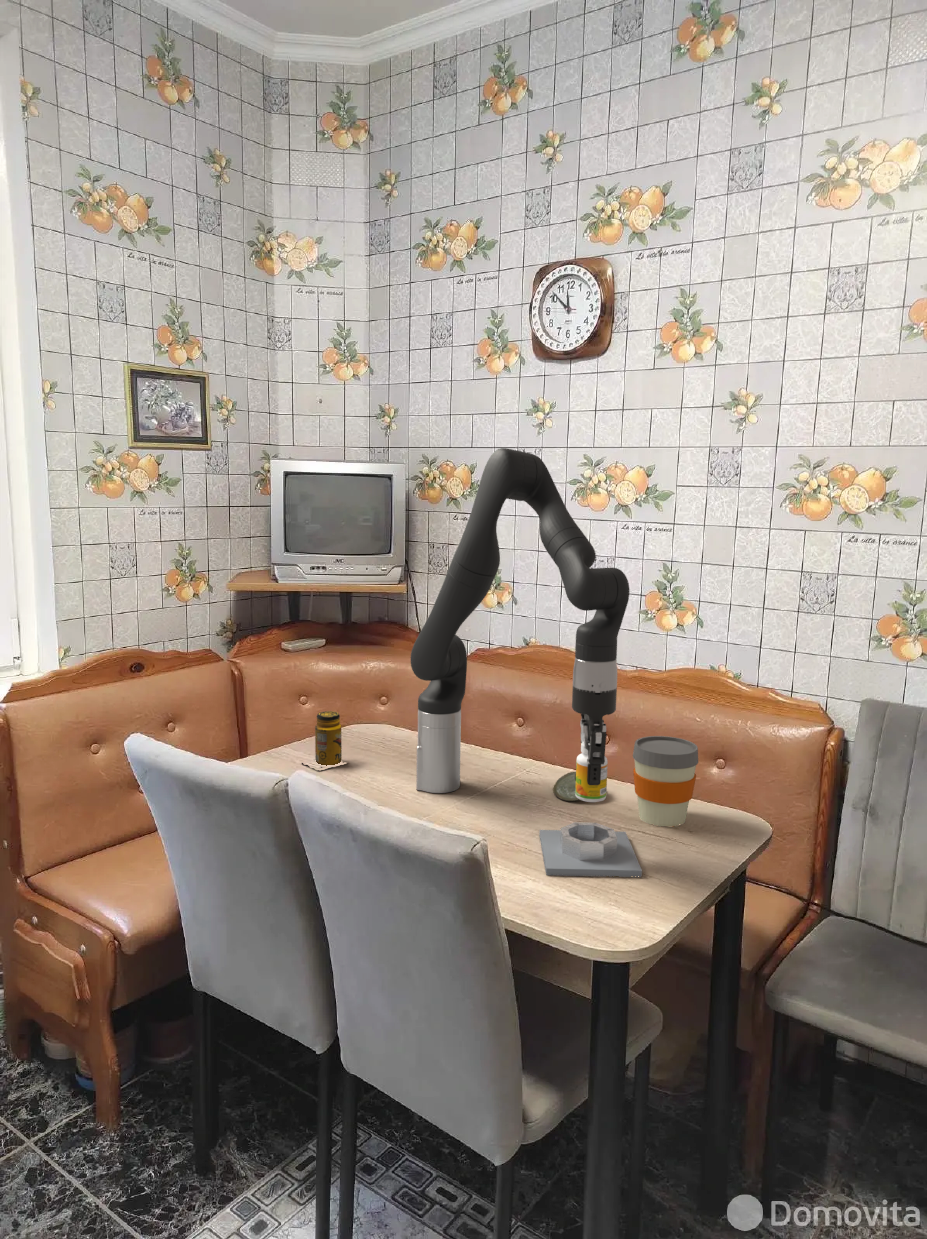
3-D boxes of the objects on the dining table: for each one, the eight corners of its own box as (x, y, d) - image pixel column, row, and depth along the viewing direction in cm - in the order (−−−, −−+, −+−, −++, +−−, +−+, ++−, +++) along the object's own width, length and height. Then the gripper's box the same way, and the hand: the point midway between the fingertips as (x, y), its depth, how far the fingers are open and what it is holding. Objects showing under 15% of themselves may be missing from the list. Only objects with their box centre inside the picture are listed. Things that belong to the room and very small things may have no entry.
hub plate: (546, 875, 141) (546, 868, 141) (539, 835, 157) (539, 829, 157) (641, 877, 141) (642, 870, 141) (625, 837, 157) (625, 831, 156)
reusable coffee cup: (617, 811, 170) (620, 739, 167) (668, 802, 175) (672, 732, 172) (654, 834, 158) (658, 758, 156) (708, 825, 163) (713, 750, 161)
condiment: (349, 764, 195) (349, 714, 194) (318, 772, 190) (318, 720, 188) (331, 756, 201) (330, 707, 199) (300, 764, 195) (300, 714, 193)
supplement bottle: (572, 791, 150) (574, 739, 148) (601, 791, 150) (603, 738, 149) (578, 803, 144) (580, 748, 143) (609, 802, 145) (611, 748, 143)
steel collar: (563, 860, 144) (564, 843, 144) (558, 837, 153) (559, 821, 153) (619, 861, 144) (620, 844, 143) (610, 838, 153) (611, 822, 153)
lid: (611, 797, 177) (612, 774, 177) (579, 808, 171) (580, 784, 170) (573, 783, 185) (574, 761, 184) (542, 793, 179) (543, 770, 178)
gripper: (568, 674, 151) (565, 764, 154) (577, 694, 137) (574, 793, 140) (610, 675, 151) (606, 765, 154) (623, 694, 137) (619, 793, 140)
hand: (591, 778), depth 147 cm, fingers closed on supplement bottle, 5 cm apart
